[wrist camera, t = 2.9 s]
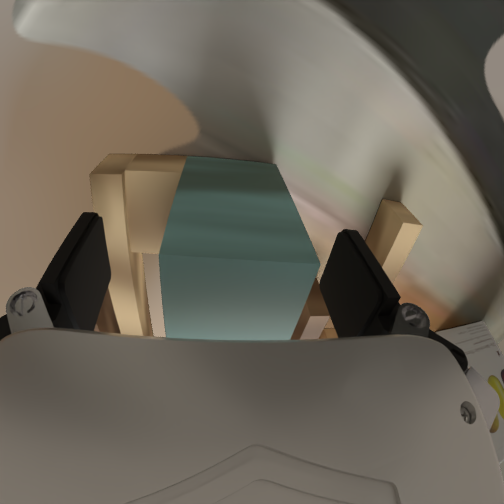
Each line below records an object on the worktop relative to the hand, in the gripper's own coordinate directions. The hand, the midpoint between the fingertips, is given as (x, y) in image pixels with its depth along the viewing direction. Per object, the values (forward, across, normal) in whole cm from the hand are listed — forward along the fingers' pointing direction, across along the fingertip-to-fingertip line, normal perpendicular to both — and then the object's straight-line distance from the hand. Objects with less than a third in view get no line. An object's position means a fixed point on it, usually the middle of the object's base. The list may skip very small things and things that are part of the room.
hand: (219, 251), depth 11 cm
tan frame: (+4, +1, +9) cm, 9 cm away
